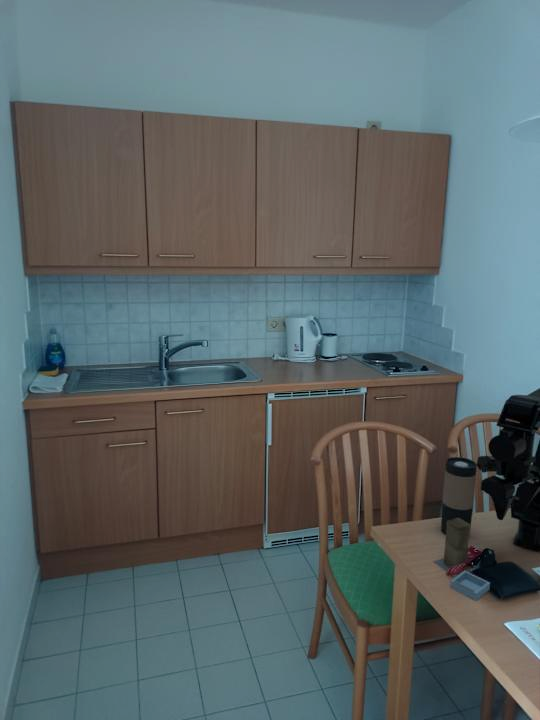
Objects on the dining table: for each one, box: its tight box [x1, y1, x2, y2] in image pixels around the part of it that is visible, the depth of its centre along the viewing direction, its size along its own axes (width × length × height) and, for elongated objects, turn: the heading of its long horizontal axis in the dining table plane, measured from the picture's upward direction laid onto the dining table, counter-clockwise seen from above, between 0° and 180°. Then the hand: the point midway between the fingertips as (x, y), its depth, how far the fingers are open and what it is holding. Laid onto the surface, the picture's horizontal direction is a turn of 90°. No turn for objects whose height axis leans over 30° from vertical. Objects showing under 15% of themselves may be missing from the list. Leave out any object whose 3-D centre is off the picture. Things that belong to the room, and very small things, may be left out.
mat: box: [432, 557, 471, 578], centre depth 124 cm, size 7×7×1 cm
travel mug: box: [440, 456, 478, 536], centre depth 137 cm, size 8×8×20 cm
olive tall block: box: [443, 518, 472, 568], centre depth 123 cm, size 4×4×11 cm
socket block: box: [449, 570, 491, 602], centre depth 115 cm, size 6×6×2 cm
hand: (511, 514), depth 123 cm, fingers open, 9 cm apart
